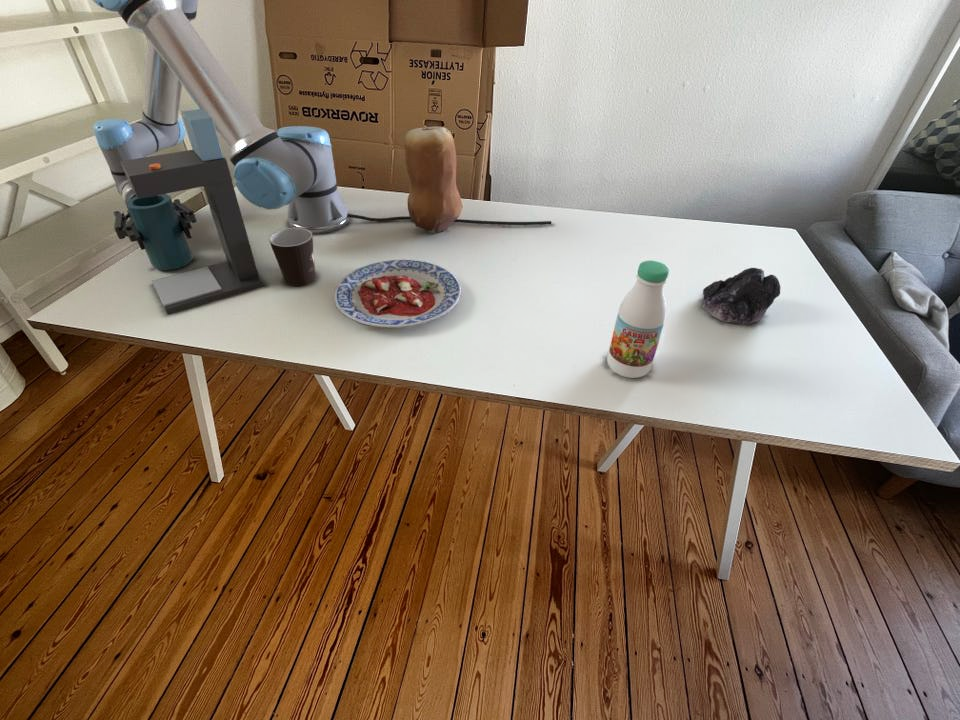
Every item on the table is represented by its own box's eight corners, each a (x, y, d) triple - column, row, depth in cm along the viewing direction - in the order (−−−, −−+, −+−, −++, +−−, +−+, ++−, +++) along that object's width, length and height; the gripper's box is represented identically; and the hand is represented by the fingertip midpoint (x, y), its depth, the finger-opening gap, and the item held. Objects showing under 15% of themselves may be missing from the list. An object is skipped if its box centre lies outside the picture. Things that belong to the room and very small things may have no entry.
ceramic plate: (331, 340, 97) (329, 327, 95) (338, 271, 116) (336, 259, 114) (468, 330, 100) (469, 317, 98) (453, 264, 120) (453, 253, 118)
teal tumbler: (197, 251, 120) (175, 192, 111) (185, 269, 114) (162, 208, 105) (159, 252, 119) (135, 193, 110) (146, 270, 113) (119, 209, 104)
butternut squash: (422, 215, 140) (417, 116, 124) (469, 223, 137) (470, 123, 121) (399, 236, 130) (391, 132, 114) (449, 246, 127) (447, 139, 111)
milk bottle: (601, 352, 96) (622, 255, 83) (642, 351, 96) (669, 254, 84) (613, 380, 90) (638, 279, 77) (656, 378, 90) (688, 278, 78)
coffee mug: (309, 291, 109) (300, 248, 103) (272, 286, 111) (260, 243, 104) (332, 265, 118) (325, 224, 112) (297, 260, 119) (288, 220, 113)
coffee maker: (153, 285, 110) (81, 119, 89) (244, 261, 119) (198, 105, 98) (167, 314, 102) (91, 139, 81) (264, 285, 111) (218, 121, 90)
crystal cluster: (686, 311, 108) (702, 272, 101) (713, 282, 115) (729, 244, 108) (749, 341, 102) (771, 302, 95) (773, 308, 110) (795, 270, 102)
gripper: (196, 207, 130) (222, 241, 116) (99, 227, 120) (115, 267, 106) (186, 177, 125) (212, 209, 111) (84, 196, 115) (99, 233, 101)
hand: (164, 237), depth 109 cm, fingers closed on teal tumbler, 8 cm apart
